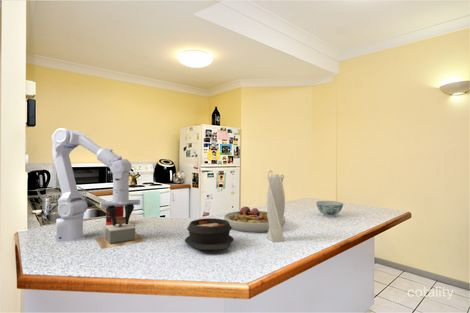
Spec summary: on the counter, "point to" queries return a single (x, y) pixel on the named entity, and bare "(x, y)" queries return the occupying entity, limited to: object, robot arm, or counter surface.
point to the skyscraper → (275, 207)
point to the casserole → (209, 234)
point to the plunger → (120, 221)
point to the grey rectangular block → (120, 233)
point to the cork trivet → (104, 243)
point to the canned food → (118, 214)
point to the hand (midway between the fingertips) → (120, 224)
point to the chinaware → (329, 208)
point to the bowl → (249, 220)
